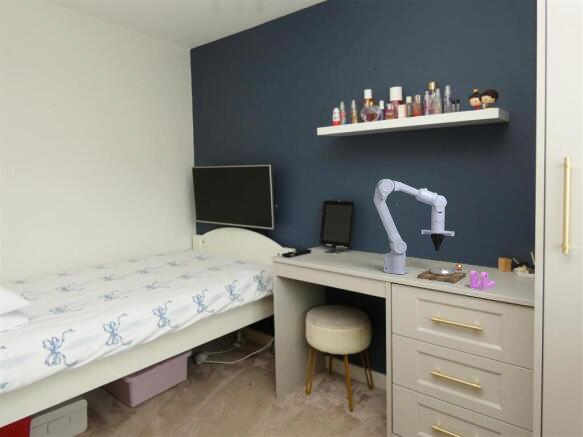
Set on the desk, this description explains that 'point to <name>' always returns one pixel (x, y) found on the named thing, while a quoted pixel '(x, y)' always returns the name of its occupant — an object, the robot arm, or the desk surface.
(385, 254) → the robot arm
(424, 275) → the dial plate
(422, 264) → the desk surface
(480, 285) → the bracket
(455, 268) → the dial
